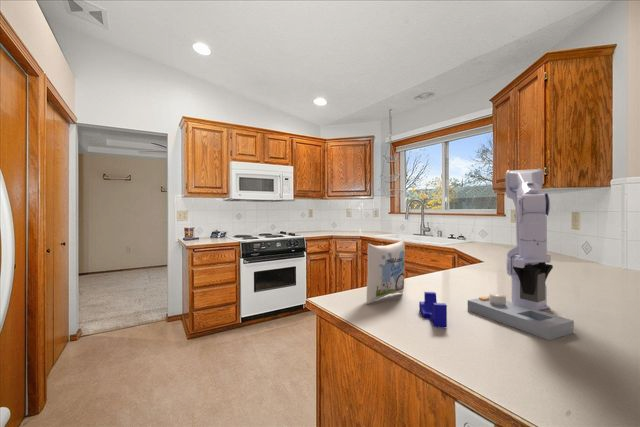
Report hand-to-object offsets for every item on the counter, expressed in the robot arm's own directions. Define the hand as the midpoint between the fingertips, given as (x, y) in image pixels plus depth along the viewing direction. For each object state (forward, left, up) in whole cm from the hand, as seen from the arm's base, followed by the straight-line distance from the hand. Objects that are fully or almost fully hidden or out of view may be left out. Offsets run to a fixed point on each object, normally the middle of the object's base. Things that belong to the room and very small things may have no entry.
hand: (532, 292), depth 74 cm
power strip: (0, -5, -9) cm, 10 cm away
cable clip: (+20, -15, -9) cm, 26 cm away
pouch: (+21, -35, -9) cm, 41 cm away
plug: (0, 0, -2) cm, 2 cm away
